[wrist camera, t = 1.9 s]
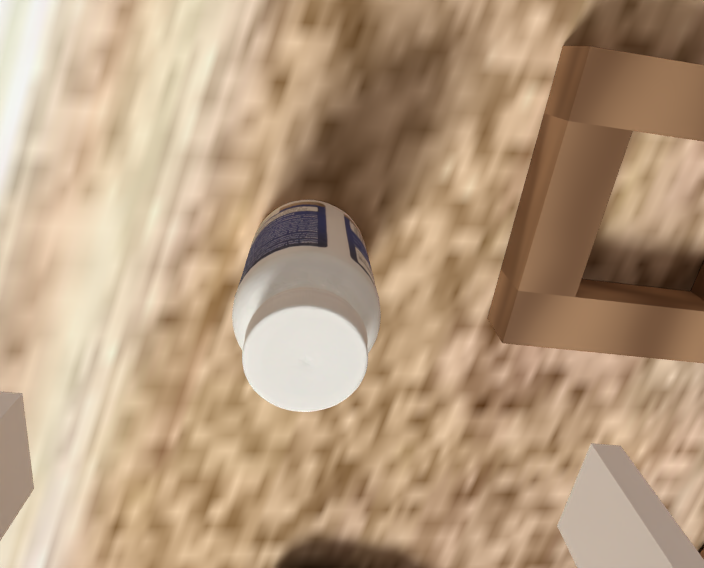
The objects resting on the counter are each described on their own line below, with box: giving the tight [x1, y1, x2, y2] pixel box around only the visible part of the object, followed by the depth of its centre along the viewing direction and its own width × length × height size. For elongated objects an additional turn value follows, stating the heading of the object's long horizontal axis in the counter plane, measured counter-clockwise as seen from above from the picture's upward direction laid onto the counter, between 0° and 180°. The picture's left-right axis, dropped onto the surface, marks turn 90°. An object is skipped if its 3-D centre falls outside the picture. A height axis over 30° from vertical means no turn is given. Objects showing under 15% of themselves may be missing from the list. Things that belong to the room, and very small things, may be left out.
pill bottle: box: [232, 200, 381, 412], centre depth 21 cm, size 5×5×10 cm
